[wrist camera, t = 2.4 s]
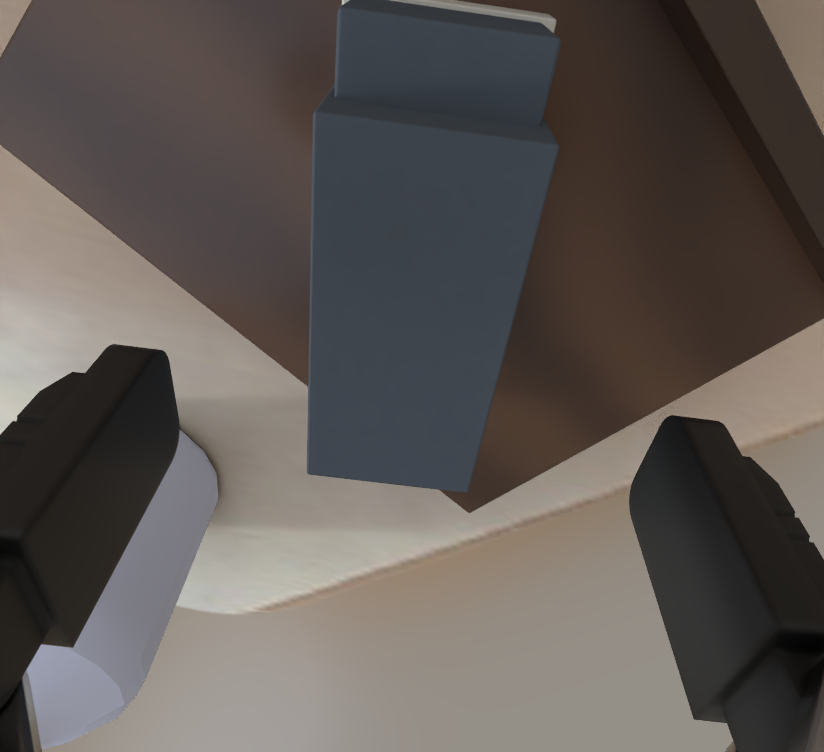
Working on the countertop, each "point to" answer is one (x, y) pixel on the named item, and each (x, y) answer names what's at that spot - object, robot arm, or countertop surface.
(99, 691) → the soap bottle
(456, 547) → the countertop surface
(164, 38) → the board
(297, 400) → the countertop surface
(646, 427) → the countertop surface
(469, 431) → the stepped grey pillar
